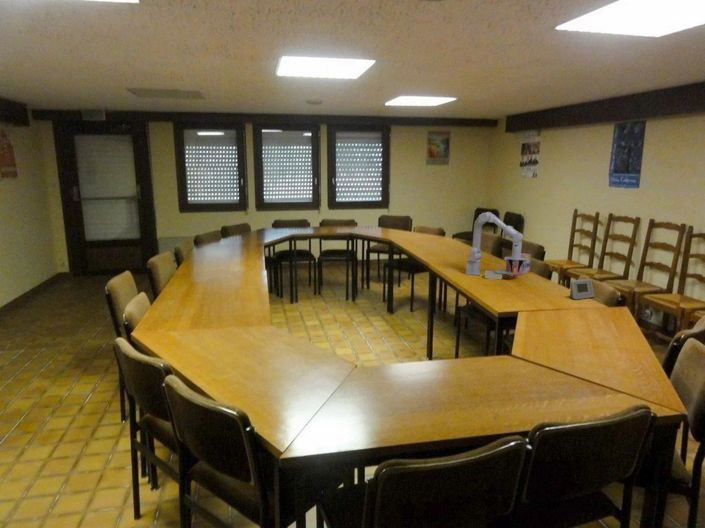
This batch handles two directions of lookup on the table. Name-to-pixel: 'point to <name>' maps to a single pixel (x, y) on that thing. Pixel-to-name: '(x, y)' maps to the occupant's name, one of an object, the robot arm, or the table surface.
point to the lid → (507, 271)
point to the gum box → (524, 267)
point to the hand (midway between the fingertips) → (514, 271)
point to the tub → (492, 275)
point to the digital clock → (581, 289)
